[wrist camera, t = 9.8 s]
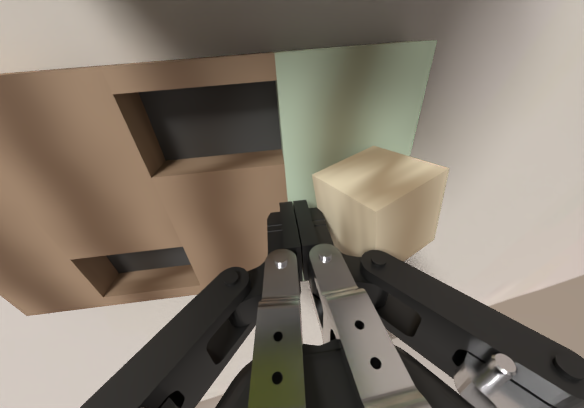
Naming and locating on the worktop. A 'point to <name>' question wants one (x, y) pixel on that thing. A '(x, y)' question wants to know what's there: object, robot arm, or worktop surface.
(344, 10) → the worktop surface
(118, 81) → the board
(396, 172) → the block
